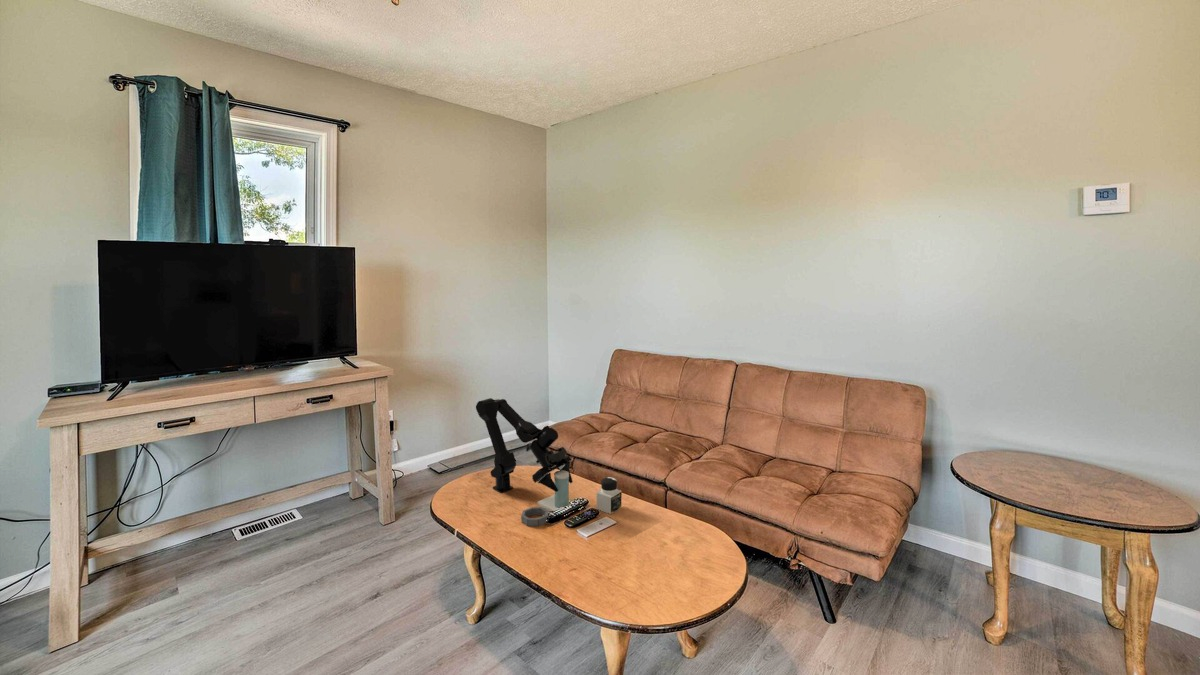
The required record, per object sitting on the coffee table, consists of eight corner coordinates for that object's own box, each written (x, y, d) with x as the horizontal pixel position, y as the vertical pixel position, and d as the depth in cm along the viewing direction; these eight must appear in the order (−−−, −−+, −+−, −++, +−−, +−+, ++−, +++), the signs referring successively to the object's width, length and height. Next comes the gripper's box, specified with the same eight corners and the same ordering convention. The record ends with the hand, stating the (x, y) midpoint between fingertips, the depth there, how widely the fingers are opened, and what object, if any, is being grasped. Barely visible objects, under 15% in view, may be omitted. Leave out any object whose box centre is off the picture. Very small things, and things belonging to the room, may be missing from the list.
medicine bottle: (611, 514, 185) (611, 484, 184) (596, 509, 189) (596, 480, 188) (621, 507, 191) (622, 478, 189) (607, 502, 195) (607, 474, 194)
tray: (537, 504, 193) (537, 501, 193) (557, 496, 200) (557, 493, 200) (563, 518, 182) (563, 515, 182) (583, 510, 189) (583, 507, 189)
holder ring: (517, 519, 182) (516, 512, 181) (537, 510, 188) (537, 504, 188) (532, 528, 175) (532, 522, 175) (553, 519, 181) (552, 513, 181)
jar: (552, 507, 189) (551, 475, 187) (558, 500, 194) (558, 469, 192) (565, 509, 187) (564, 477, 185) (571, 503, 192) (571, 471, 190)
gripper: (537, 449, 182) (561, 485, 177) (567, 435, 197) (590, 468, 192) (522, 465, 187) (544, 500, 182) (552, 450, 202) (574, 482, 198)
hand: (564, 486), depth 189 cm, fingers open, 9 cm apart
